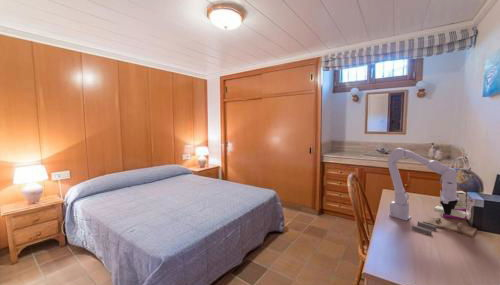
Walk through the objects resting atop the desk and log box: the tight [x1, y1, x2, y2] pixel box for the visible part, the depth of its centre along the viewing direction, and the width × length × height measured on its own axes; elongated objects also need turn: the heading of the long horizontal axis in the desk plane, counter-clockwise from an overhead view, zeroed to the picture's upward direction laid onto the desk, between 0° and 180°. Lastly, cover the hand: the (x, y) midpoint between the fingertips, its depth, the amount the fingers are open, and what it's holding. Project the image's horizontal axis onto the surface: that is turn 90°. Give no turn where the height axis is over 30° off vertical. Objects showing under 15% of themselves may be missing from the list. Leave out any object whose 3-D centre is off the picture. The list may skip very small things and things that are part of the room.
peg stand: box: [422, 216, 478, 238], centre depth 116 cm, size 20×11×3 cm, turn 34°
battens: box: [411, 221, 437, 236], centre depth 114 cm, size 8×10×2 cm
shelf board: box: [433, 205, 466, 218], centre depth 115 cm, size 12×5×2 cm, turn 34°
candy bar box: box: [439, 189, 468, 220], centre depth 127 cm, size 11×5×16 cm, turn 68°
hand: (448, 213), depth 116 cm, fingers closed on shelf board, 5 cm apart
